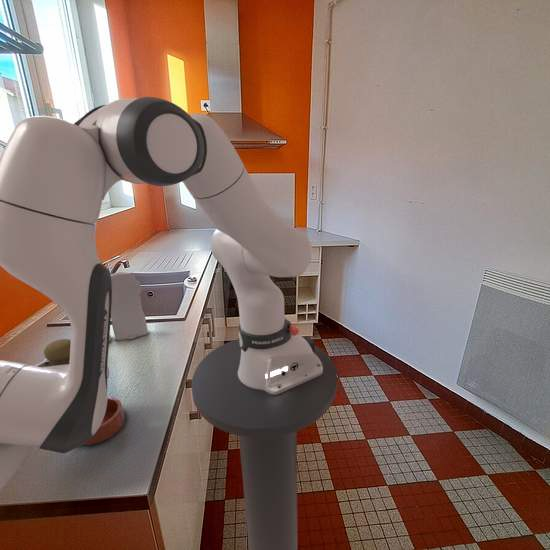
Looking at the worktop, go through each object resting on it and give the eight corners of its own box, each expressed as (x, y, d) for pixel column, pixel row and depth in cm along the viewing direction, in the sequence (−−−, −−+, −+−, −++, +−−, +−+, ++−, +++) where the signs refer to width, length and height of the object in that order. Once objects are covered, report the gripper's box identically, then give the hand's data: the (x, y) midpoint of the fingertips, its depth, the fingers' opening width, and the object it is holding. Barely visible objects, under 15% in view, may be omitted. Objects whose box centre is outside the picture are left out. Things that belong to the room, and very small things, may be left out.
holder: (126, 405, 69) (123, 392, 68) (121, 436, 61) (118, 423, 60) (80, 416, 66) (76, 403, 65) (69, 451, 58) (64, 437, 57)
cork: (92, 385, 64) (80, 340, 61) (60, 402, 60) (45, 355, 56) (80, 375, 68) (68, 332, 64) (49, 390, 63) (34, 344, 60)
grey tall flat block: (149, 329, 102) (137, 268, 94) (149, 335, 98) (137, 271, 91) (114, 336, 98) (99, 272, 91) (113, 342, 95) (97, 277, 87)
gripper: (90, 383, 50) (115, 340, 63) (-52, 400, 47) (5, 351, 60) (98, 413, 52) (121, 365, 65) (-38, 432, 49) (15, 378, 62)
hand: (65, 358), depth 62 cm, fingers closed on cork, 4 cm apart
